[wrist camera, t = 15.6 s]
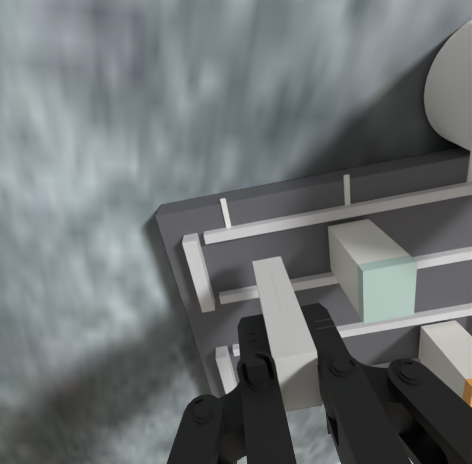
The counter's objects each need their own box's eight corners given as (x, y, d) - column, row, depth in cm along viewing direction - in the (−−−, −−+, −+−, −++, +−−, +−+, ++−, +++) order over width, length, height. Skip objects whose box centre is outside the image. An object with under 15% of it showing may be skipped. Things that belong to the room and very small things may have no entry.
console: (217, 391, 27) (217, 425, 24) (159, 200, 20) (150, 218, 17) (476, 347, 26) (505, 377, 23) (515, 131, 19) (565, 138, 16)
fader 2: (418, 357, 23) (466, 422, 19) (420, 326, 22) (473, 388, 17) (450, 351, 23) (507, 416, 18) (455, 320, 22) (517, 381, 17)
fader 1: (330, 269, 20) (363, 323, 15) (327, 226, 18) (362, 271, 14) (368, 262, 20) (413, 315, 15) (368, 218, 18) (417, 261, 14)
